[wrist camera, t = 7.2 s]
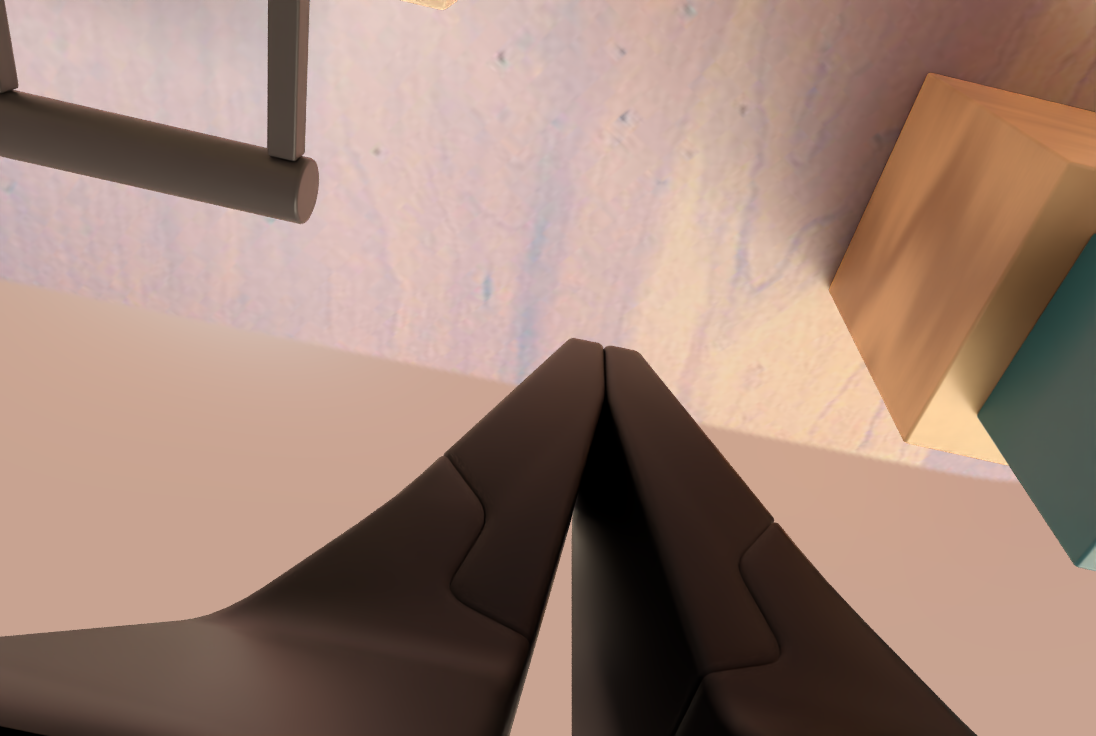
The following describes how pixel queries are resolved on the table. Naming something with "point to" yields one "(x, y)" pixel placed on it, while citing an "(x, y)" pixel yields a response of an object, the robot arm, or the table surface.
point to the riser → (965, 251)
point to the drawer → (181, 134)
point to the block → (1055, 412)
